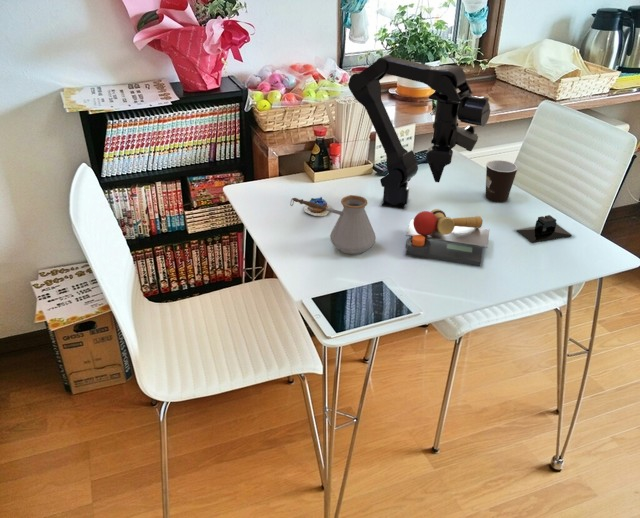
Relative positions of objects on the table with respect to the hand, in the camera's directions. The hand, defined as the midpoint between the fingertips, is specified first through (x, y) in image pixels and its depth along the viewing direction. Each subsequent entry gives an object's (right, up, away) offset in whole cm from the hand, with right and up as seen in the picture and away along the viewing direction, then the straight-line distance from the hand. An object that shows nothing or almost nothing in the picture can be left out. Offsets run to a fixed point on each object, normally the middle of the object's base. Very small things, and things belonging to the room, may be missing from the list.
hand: (439, 175), depth 159 cm
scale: (0, -19, -9) cm, 21 cm away
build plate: (+27, -16, -2) cm, 32 cm away
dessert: (-33, -9, +8) cm, 35 cm away
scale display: (+2, -20, -15) cm, 25 cm away
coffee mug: (+20, -4, +17) cm, 27 cm away
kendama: (0, -15, -8) cm, 18 cm away
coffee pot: (-29, -20, -10) cm, 36 cm away
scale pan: (0, -16, -9) cm, 18 cm away
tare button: (-8, -19, -13) cm, 24 cm away
